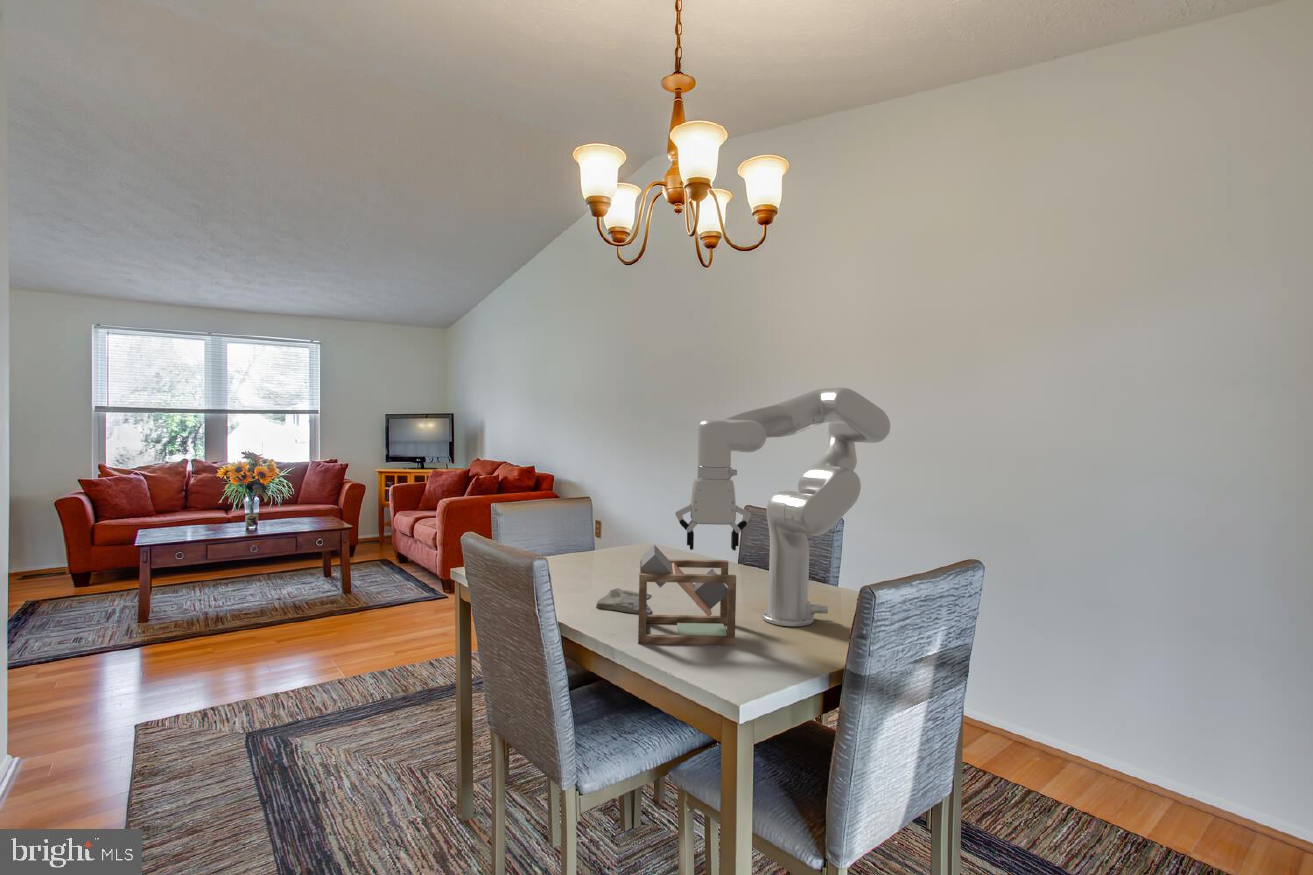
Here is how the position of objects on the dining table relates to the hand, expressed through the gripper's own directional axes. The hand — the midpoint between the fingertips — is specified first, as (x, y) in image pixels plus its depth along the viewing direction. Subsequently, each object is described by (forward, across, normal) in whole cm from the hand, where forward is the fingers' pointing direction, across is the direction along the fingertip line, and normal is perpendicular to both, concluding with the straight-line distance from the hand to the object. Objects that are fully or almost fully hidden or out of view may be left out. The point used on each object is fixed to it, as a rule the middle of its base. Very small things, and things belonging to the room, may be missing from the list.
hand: (712, 548), depth 148 cm
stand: (+19, +6, 0) cm, 20 cm away
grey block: (+11, +2, 0) cm, 11 cm away
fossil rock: (+20, +20, -23) cm, 36 cm away
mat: (+19, +2, 0) cm, 19 cm away
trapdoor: (+10, +10, 0) cm, 14 cm away
